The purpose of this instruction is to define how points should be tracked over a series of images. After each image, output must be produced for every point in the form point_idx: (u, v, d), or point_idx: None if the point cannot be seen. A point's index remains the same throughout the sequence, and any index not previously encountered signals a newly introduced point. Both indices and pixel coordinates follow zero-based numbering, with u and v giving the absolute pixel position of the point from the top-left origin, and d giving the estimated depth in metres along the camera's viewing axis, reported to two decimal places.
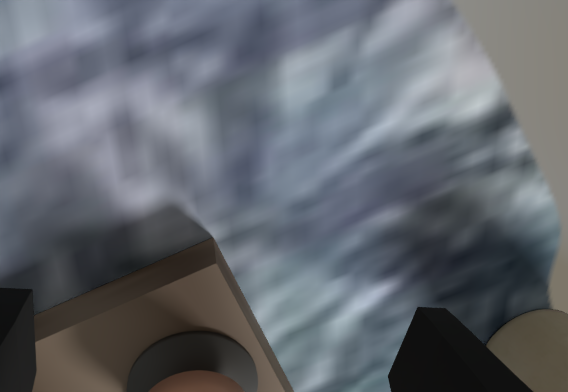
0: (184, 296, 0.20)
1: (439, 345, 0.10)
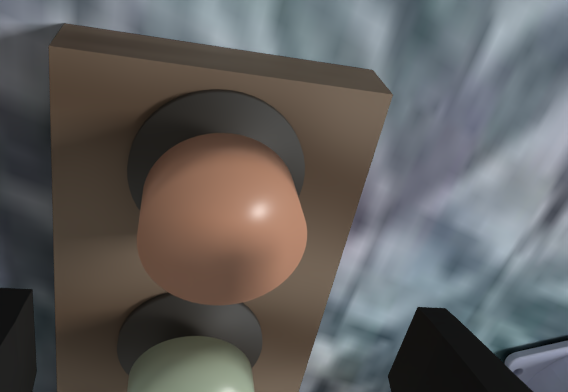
0: (80, 109, 0.14)
1: (439, 345, 0.10)
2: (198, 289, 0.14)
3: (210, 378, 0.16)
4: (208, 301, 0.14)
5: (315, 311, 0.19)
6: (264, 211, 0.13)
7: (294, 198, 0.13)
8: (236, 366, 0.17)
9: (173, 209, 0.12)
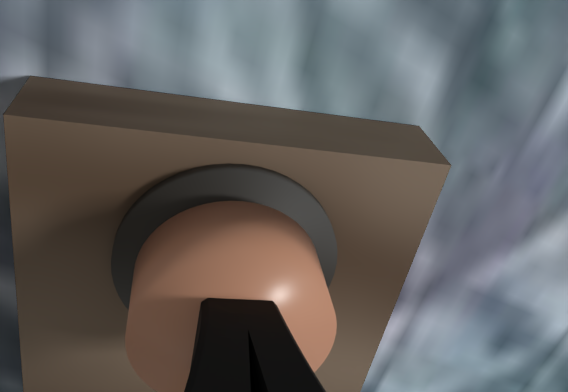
0: (48, 191, 0.11)
1: None
2: None
3: None
4: None
5: None
6: (285, 303, 0.10)
7: (322, 287, 0.10)
8: None
9: (171, 305, 0.10)
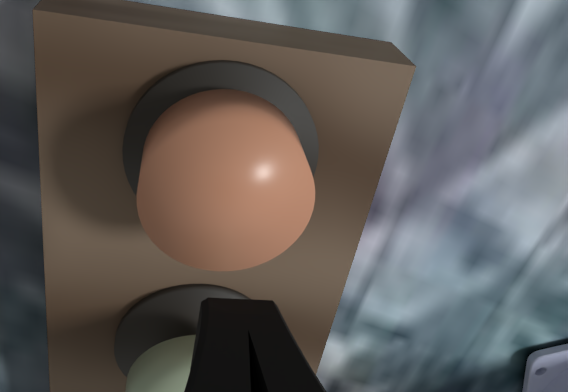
0: (69, 83, 0.13)
1: None
2: (201, 253, 0.13)
3: None
4: (211, 267, 0.13)
5: (328, 307, 0.18)
6: (270, 168, 0.12)
7: (301, 154, 0.12)
8: None
9: (175, 165, 0.12)
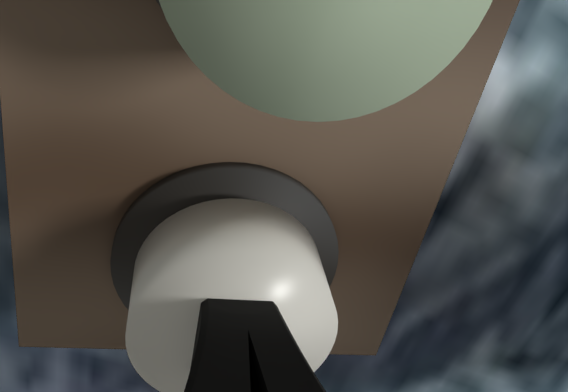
0: None
1: None
2: None
3: None
4: None
5: None
6: None
7: None
8: None
9: None
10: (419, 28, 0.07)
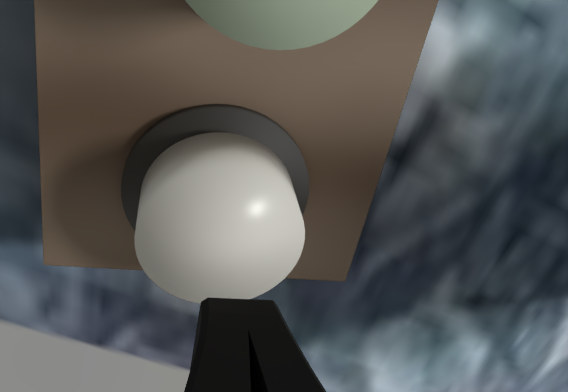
0: None
1: None
2: None
3: None
4: None
5: None
6: None
7: None
8: None
9: None
10: None
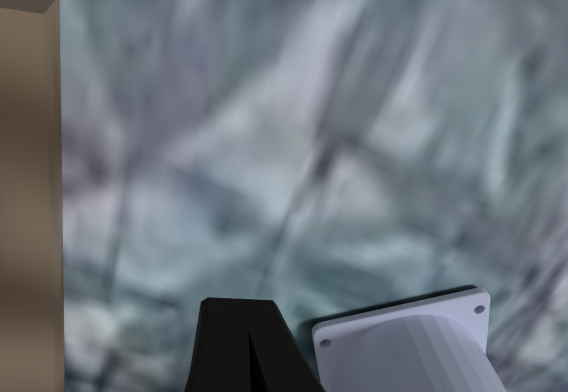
0: None
1: None
2: None
3: None
4: None
5: (40, 268, 0.18)
6: None
7: None
8: None
9: None
10: None
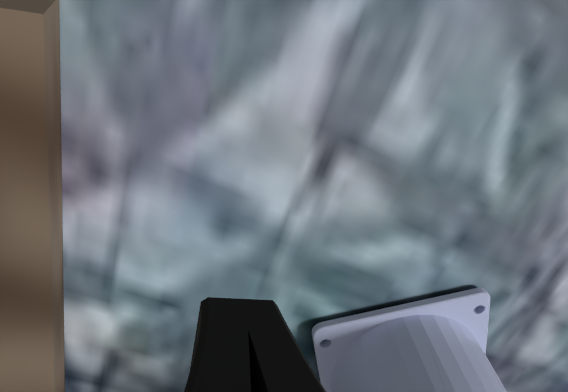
0: None
1: None
2: None
3: None
4: None
5: (40, 268, 0.18)
6: None
7: None
8: None
9: None
10: None
